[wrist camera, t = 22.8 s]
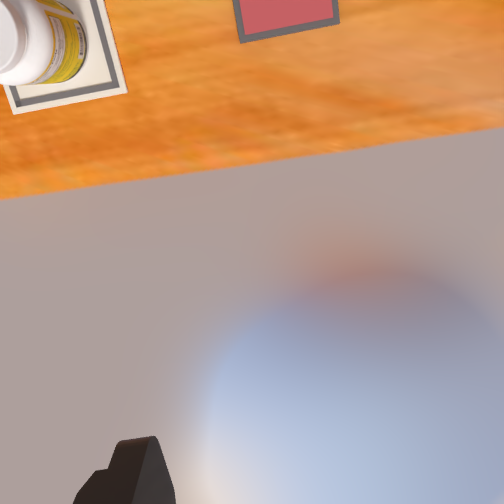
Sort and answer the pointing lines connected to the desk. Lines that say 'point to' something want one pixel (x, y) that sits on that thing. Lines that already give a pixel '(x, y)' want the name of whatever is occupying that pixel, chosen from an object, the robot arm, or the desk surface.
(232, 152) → the desk surface
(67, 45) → the pill bottle
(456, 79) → the desk surface
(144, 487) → the robot arm
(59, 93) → the card
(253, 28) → the ink pad
